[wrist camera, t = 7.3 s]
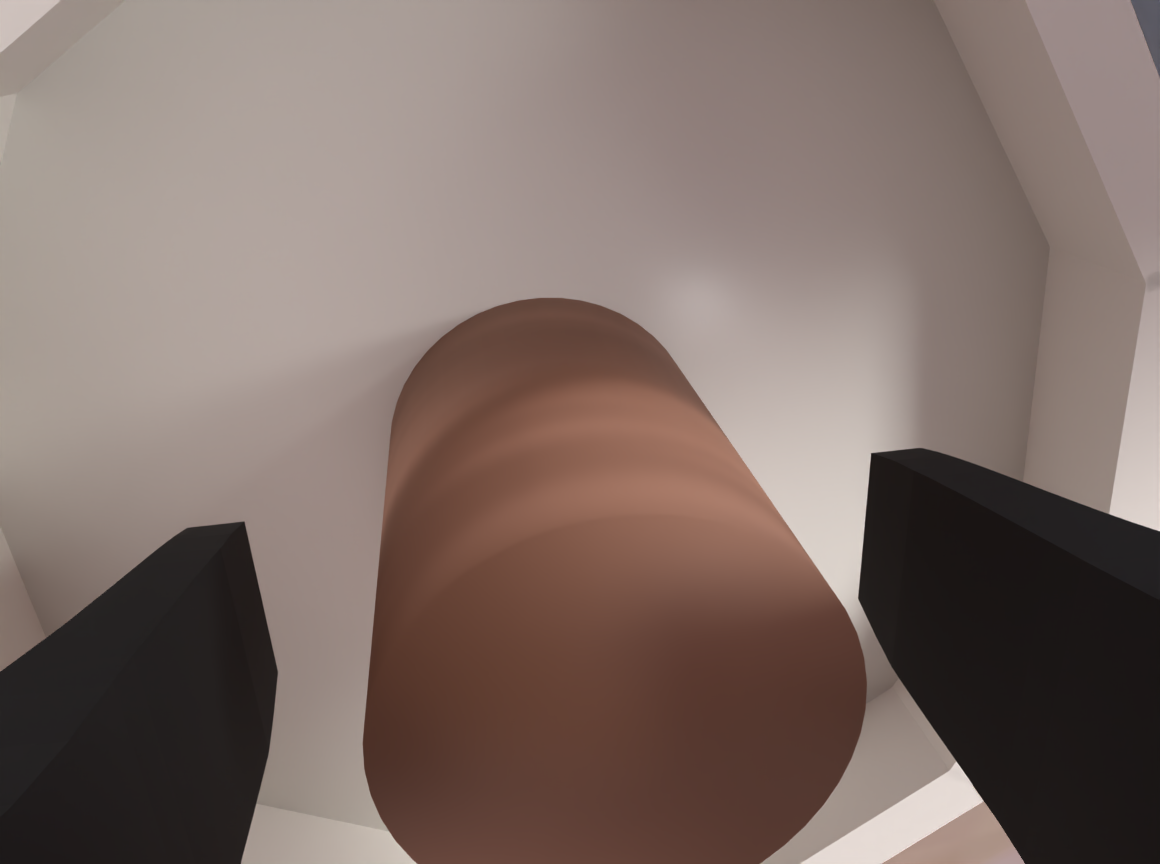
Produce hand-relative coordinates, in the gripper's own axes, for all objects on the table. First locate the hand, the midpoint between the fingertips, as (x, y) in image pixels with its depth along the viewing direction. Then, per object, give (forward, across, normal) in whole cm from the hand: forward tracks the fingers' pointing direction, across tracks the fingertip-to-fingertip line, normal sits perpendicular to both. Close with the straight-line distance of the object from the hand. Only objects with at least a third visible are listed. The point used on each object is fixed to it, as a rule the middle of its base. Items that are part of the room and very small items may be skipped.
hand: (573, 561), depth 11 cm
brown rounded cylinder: (+3, 0, 0) cm, 3 cm away
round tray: (+4, 0, 0) cm, 4 cm away
